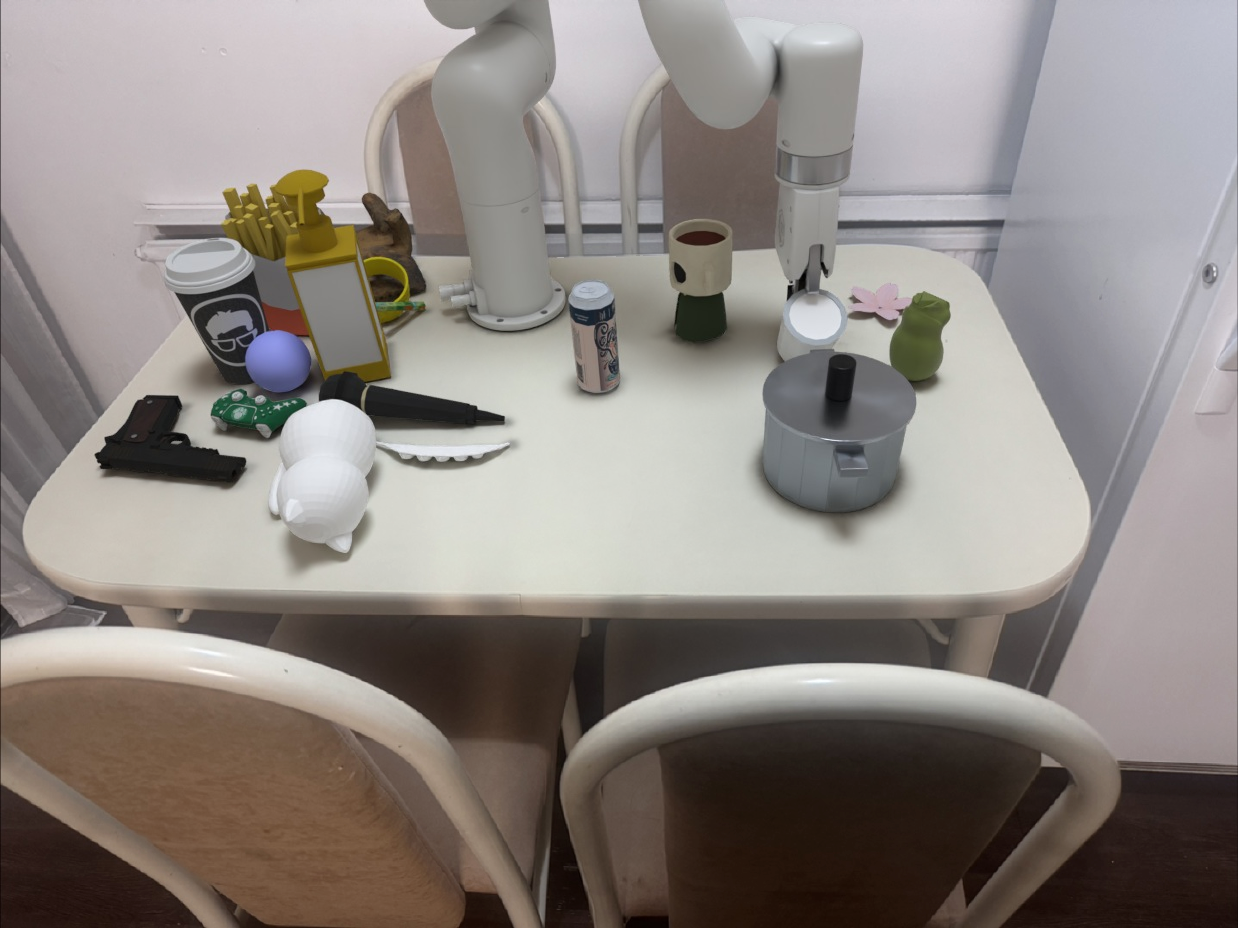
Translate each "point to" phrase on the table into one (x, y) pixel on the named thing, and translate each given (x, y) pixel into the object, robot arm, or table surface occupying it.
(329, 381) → the microphone
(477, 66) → the robot arm
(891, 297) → the flower
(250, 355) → the sphere
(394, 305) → the pencil
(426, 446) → the pea pod
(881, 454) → the pot
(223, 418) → the gaming controller
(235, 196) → the french fries container
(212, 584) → the table surface
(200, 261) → the coffee cup
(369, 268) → the bracelet
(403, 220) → the figurine
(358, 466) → the cat figurine
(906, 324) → the pear
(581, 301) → the beer can
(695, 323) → the character mug
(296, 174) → the soap bottle
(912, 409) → the pot lid
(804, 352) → the white short cylinder
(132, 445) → the pistol
